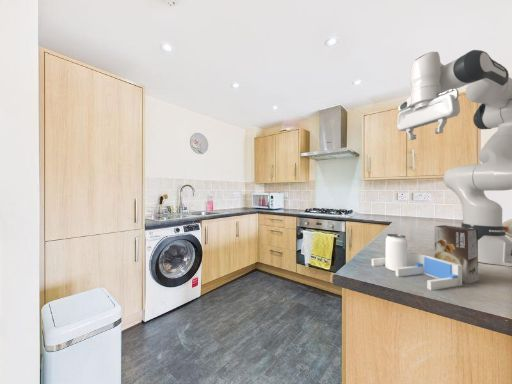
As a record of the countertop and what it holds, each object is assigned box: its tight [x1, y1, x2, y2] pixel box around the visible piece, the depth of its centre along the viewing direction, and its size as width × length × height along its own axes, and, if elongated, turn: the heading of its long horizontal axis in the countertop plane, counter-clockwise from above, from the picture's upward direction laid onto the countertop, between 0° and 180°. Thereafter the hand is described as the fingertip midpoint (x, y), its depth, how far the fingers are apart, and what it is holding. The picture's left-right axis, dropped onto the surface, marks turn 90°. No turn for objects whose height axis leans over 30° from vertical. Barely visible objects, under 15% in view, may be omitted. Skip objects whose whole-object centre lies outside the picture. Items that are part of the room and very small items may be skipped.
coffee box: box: [433, 224, 479, 284], centre depth 69 cm, size 9×6×16 cm
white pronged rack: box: [371, 249, 463, 291], centre depth 71 cm, size 12×21×6 cm, turn 15°
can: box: [384, 233, 408, 273], centre depth 76 cm, size 6×6×12 cm
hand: (425, 136), depth 79 cm, fingers open, 8 cm apart
